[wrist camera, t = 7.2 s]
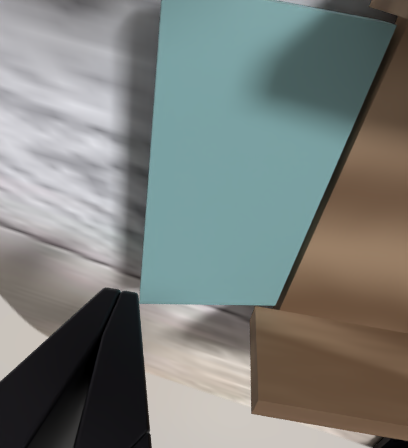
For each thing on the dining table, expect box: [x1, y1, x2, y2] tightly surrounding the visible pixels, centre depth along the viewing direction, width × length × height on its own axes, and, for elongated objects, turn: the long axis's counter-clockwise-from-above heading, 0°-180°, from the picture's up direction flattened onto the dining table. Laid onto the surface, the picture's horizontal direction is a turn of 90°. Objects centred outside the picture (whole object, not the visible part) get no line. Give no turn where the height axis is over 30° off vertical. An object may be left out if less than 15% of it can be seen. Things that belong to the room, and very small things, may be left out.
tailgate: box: [139, 0, 397, 306], centre depth 14 cm, size 13×1×7 cm
